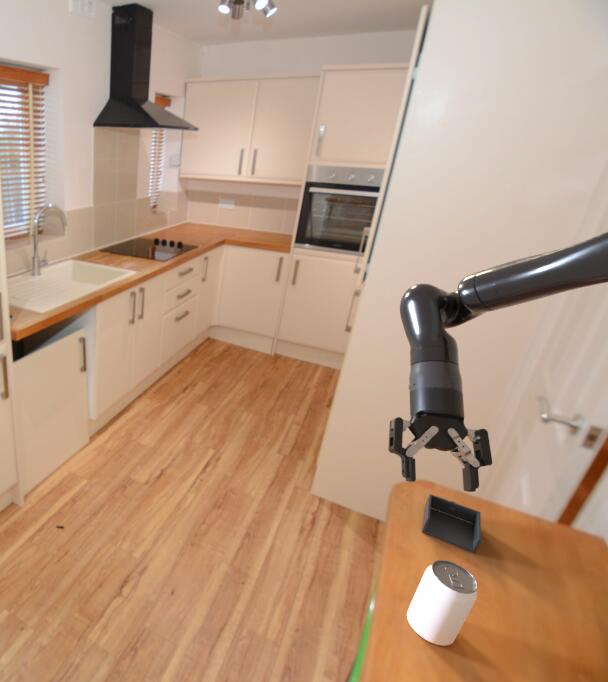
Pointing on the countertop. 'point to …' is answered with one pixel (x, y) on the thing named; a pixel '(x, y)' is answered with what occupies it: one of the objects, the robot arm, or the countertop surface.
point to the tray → (452, 523)
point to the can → (442, 602)
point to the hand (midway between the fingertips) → (439, 486)
